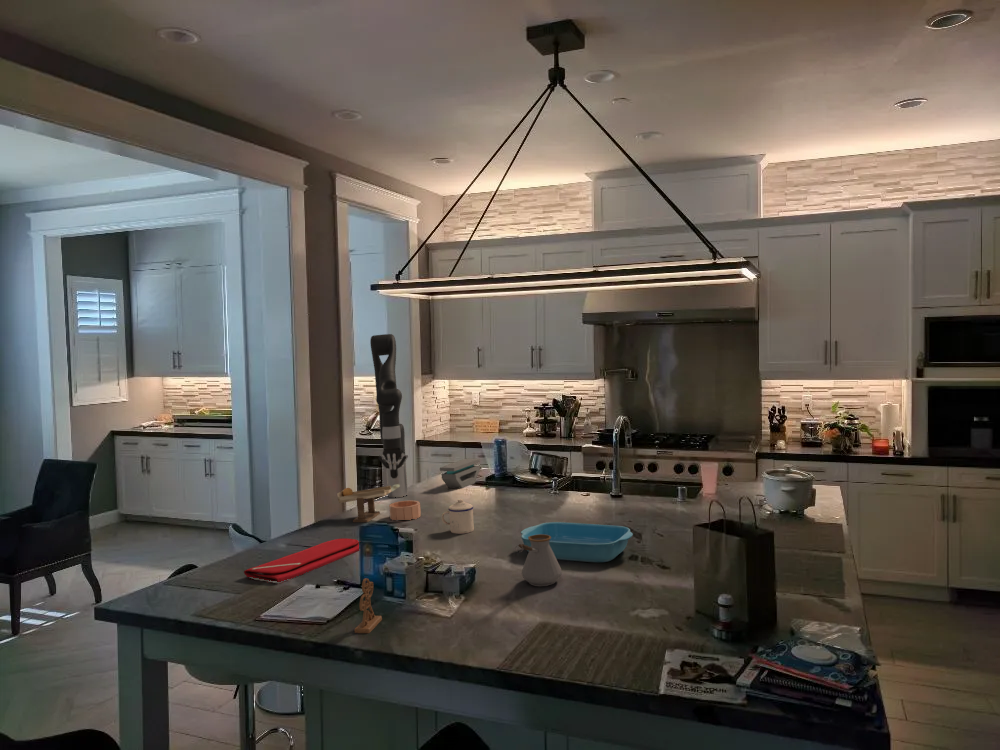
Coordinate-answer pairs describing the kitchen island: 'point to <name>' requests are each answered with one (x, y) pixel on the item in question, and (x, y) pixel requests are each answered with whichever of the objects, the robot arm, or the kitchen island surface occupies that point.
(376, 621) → the wooden sculpture
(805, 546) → the kitchen island surface
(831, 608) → the kitchen island surface
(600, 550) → the casserole dish
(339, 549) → the dish drying mat
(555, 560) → the coffee pot
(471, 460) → the grey heat sealer
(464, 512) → the teacup with lid
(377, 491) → the ramp
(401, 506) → the terracotta bowl
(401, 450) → the robot arm
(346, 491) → the ball
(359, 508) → the ramp stand
